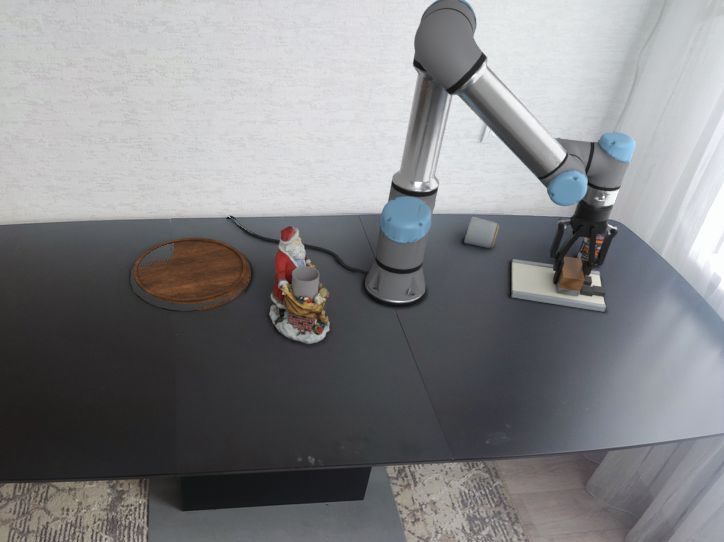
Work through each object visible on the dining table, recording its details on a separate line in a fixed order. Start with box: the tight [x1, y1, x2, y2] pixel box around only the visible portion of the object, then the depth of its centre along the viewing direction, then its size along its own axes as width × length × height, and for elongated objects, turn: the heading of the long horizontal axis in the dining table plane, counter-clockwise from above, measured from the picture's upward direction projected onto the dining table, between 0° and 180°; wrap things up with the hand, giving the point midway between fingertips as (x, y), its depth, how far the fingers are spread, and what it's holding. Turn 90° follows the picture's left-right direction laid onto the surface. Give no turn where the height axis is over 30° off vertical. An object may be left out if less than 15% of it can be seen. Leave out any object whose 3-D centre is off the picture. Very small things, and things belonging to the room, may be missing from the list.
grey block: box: [580, 285, 594, 297], centre depth 166 cm, size 3×3×1 cm
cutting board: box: [133, 237, 252, 312], centre depth 174 cm, size 32×32×2 cm
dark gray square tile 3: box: [592, 285, 606, 298], centre depth 166 cm, size 3×3×1 cm
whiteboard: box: [510, 258, 607, 313], centre depth 170 cm, size 22×16×1 cm
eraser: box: [556, 256, 584, 296], centre depth 168 cm, size 5×10×5 cm, turn 164°
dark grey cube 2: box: [583, 276, 592, 286], centre depth 170 cm, size 3×3×1 cm
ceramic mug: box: [463, 215, 500, 249], centre depth 185 cm, size 11×8×8 cm
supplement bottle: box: [576, 229, 606, 267], centre depth 176 cm, size 6×6×11 cm
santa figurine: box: [268, 225, 331, 345], centre depth 151 cm, size 17×14×25 cm
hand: (566, 282), depth 169 cm, fingers closed on eraser, 5 cm apart
